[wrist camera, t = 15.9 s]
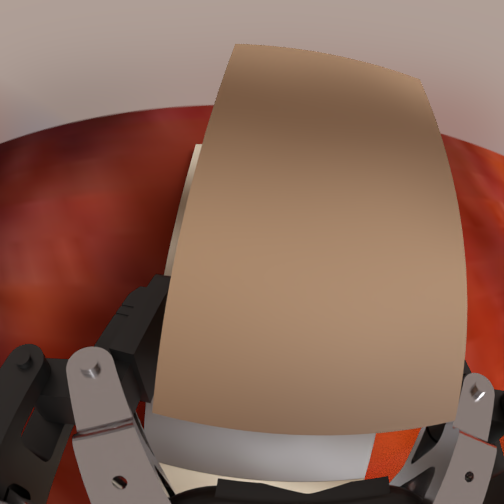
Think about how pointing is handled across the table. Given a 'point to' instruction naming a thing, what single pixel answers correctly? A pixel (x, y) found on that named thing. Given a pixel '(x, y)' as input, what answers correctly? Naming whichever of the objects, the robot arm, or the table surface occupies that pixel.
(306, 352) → the block
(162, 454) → the board
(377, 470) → the table surface
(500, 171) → the table surface
